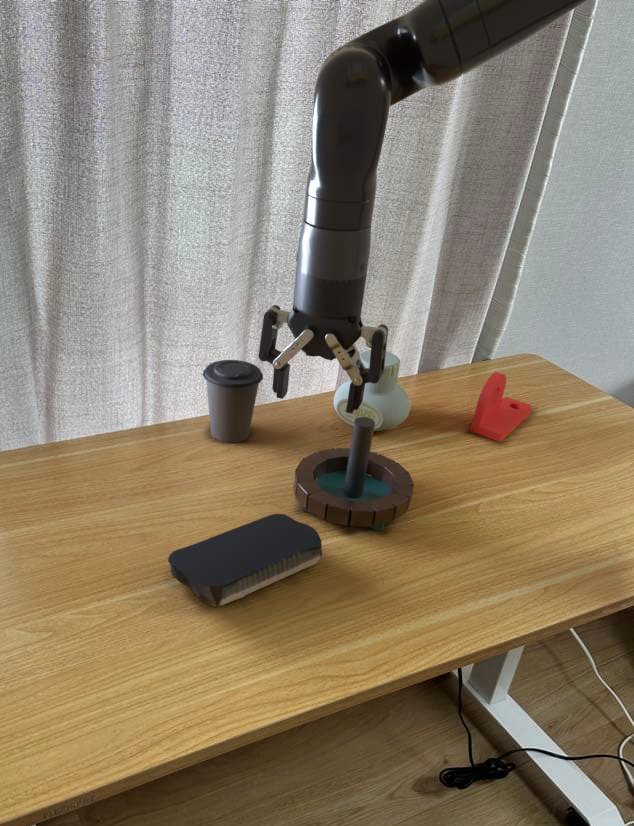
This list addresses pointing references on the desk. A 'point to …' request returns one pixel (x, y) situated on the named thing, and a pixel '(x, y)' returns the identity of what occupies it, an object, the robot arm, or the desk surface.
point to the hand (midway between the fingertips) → (315, 403)
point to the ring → (348, 509)
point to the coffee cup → (231, 398)
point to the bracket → (497, 410)
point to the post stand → (356, 470)
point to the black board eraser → (246, 558)
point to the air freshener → (377, 397)
